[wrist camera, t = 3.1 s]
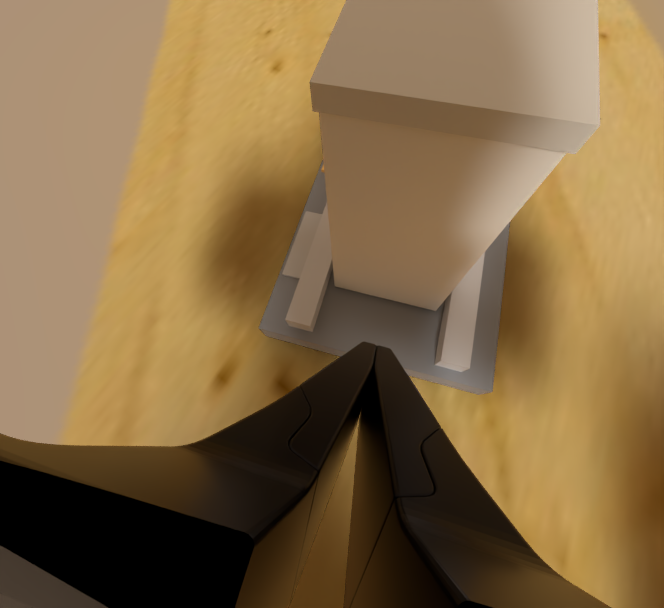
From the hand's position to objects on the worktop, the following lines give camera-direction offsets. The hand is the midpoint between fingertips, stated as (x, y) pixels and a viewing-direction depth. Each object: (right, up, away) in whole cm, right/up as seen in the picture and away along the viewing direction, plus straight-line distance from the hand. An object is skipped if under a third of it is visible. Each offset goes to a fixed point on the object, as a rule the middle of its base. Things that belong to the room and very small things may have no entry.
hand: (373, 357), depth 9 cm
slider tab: (+2, +4, +7) cm, 8 cm away
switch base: (+3, +6, +9) cm, 11 cm away
